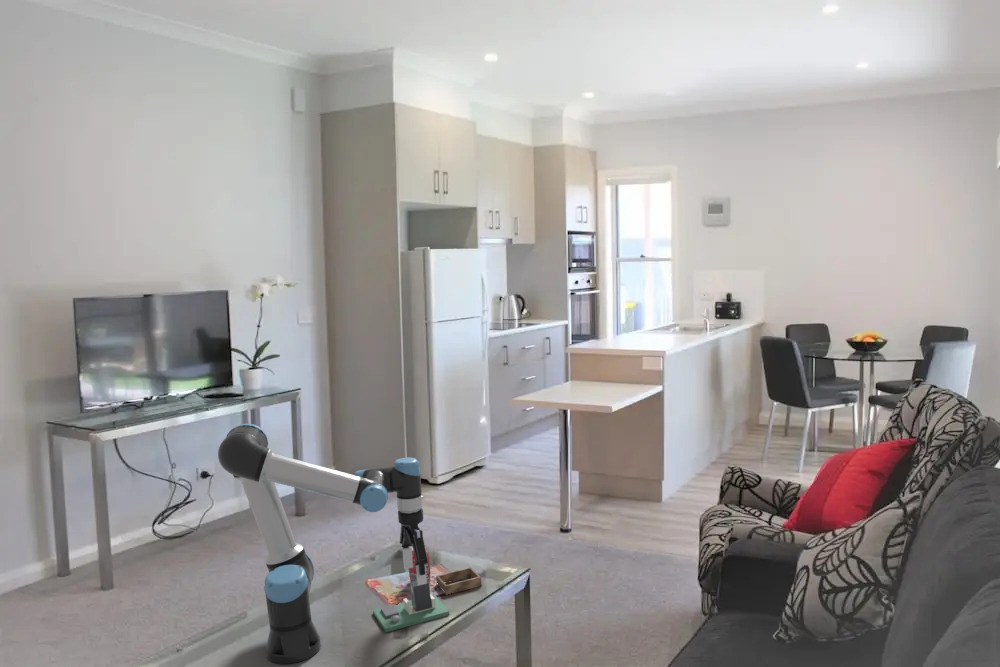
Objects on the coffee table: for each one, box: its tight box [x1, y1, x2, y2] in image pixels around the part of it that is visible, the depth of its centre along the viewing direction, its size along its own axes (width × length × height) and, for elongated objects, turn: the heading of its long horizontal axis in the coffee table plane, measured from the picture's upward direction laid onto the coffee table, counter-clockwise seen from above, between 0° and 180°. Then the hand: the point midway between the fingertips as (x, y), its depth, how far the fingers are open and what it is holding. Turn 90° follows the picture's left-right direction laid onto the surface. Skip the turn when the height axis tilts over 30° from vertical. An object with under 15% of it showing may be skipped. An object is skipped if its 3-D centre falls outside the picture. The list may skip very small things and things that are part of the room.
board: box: [372, 592, 450, 633], centre depth 256 cm, size 20×14×4 cm
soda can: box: [408, 545, 431, 582], centre depth 279 cm, size 7×7×12 cm
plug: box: [409, 580, 432, 612], centre depth 257 cm, size 5×4×8 cm
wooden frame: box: [435, 566, 482, 596], centre depth 274 cm, size 12×9×3 cm
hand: (415, 576), depth 256 cm, fingers open, 13 cm apart
